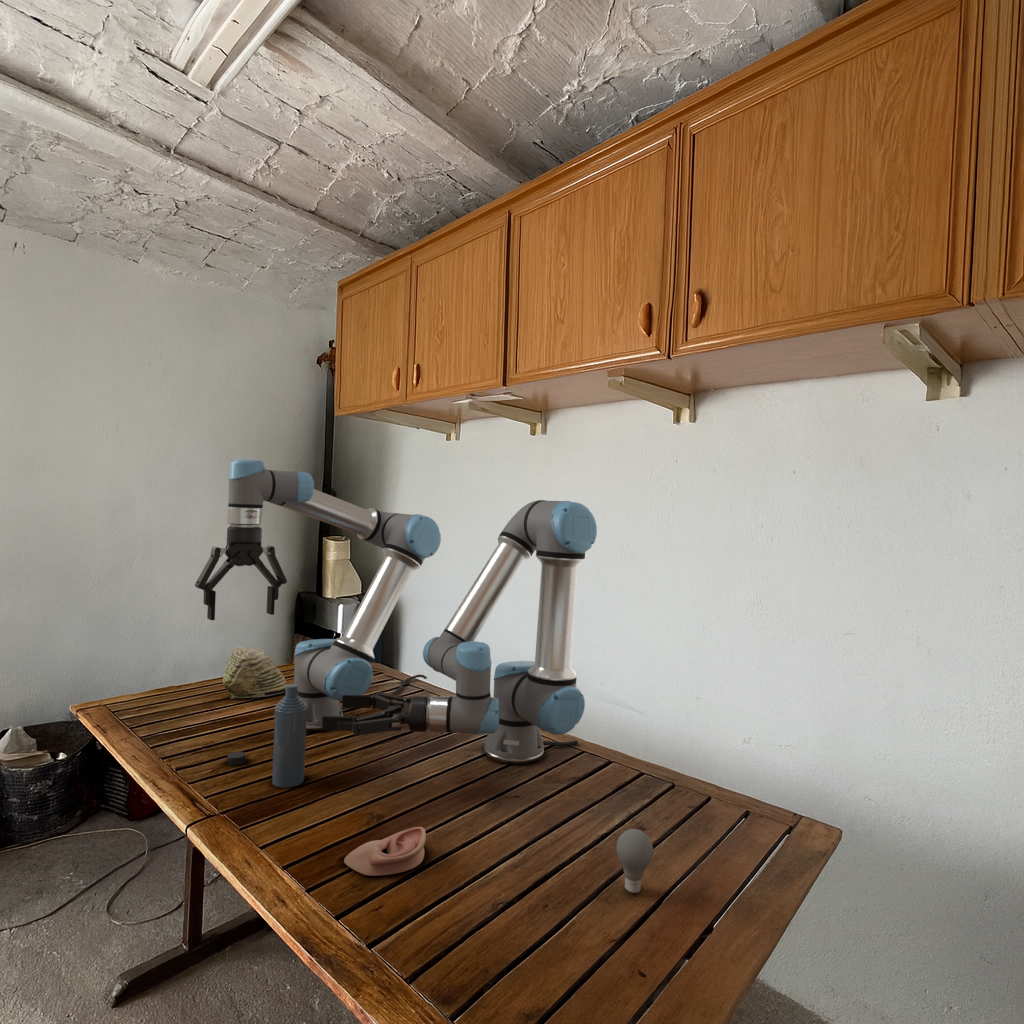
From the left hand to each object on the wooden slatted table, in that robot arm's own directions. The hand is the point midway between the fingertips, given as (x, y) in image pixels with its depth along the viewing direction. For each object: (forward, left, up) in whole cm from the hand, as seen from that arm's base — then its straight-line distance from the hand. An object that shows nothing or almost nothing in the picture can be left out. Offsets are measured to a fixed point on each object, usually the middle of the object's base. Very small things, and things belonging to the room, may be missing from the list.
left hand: (241, 616), depth 148 cm
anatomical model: (+2, +56, -34) cm, 66 cm away
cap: (0, 0, -33) cm, 33 cm away
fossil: (-29, -43, -34) cm, 62 cm away
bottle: (-3, +17, -34) cm, 38 cm away
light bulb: (-19, +93, -34) cm, 101 cm away
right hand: (-9, +25, -18) cm, 32 cm away
